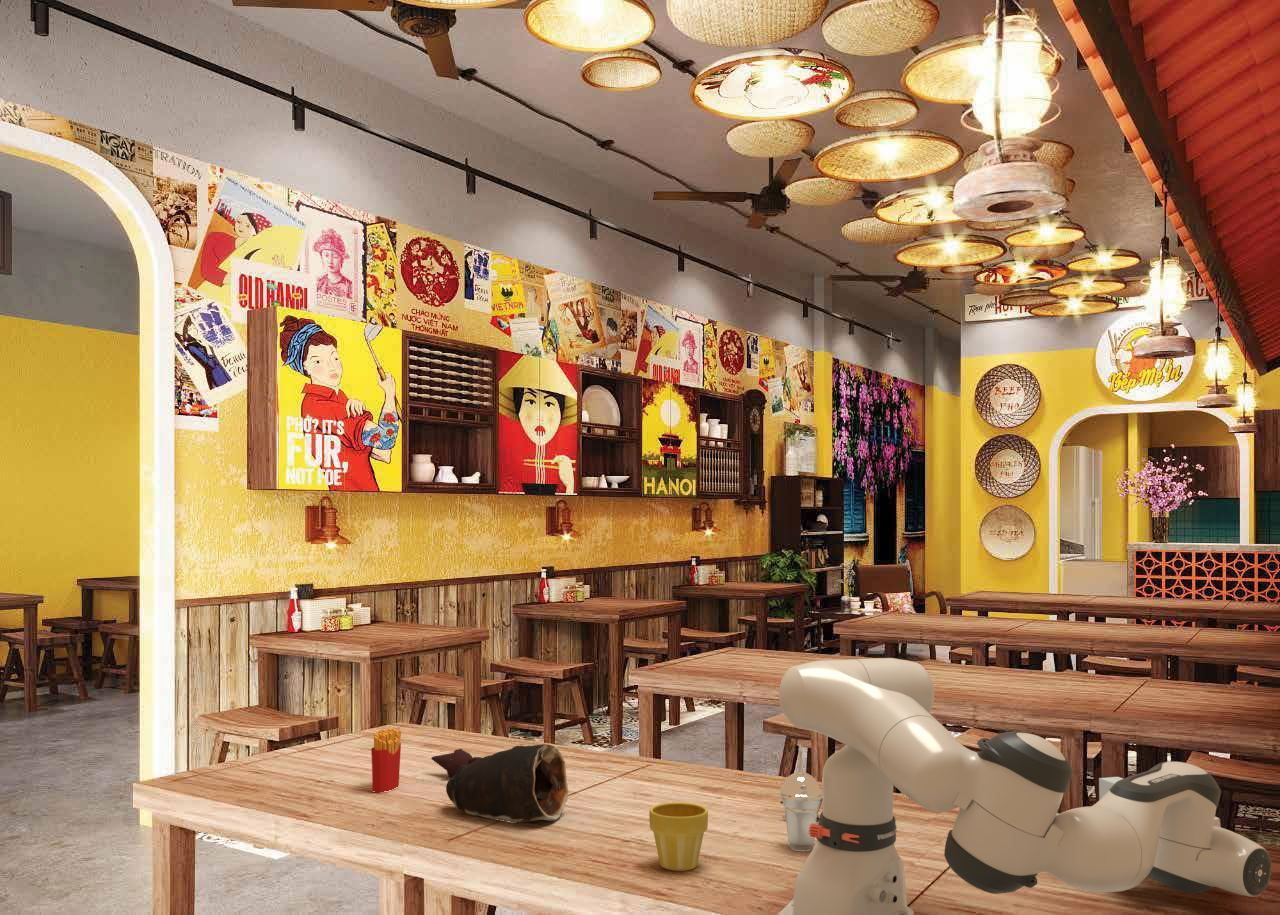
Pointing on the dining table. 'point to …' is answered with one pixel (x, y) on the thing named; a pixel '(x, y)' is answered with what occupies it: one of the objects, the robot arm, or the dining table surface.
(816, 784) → the cup with straw
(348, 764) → the dining table surface
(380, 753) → the french fries
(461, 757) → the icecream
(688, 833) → the plant pot
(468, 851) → the dining table surface
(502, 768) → the dark brown tapered cylinder
